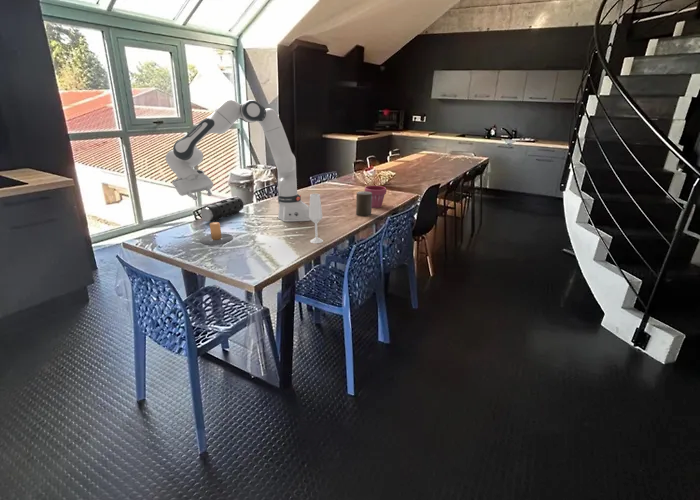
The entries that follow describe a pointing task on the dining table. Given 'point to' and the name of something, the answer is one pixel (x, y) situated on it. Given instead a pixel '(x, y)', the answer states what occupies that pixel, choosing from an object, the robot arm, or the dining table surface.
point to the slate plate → (209, 240)
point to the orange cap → (215, 231)
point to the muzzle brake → (222, 209)
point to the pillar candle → (363, 203)
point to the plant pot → (376, 195)
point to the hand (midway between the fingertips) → (203, 197)
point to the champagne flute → (315, 214)
